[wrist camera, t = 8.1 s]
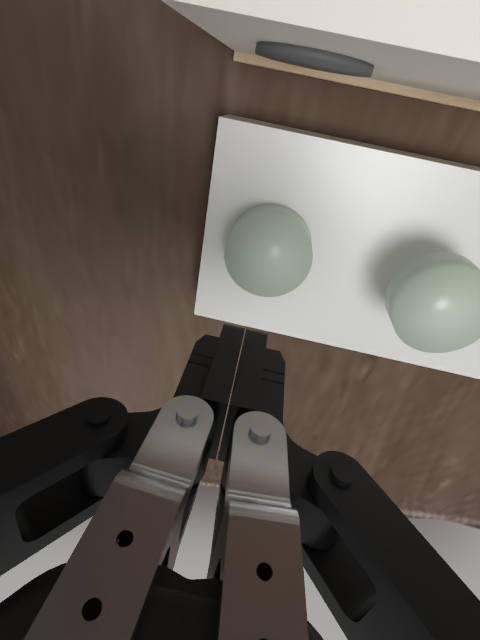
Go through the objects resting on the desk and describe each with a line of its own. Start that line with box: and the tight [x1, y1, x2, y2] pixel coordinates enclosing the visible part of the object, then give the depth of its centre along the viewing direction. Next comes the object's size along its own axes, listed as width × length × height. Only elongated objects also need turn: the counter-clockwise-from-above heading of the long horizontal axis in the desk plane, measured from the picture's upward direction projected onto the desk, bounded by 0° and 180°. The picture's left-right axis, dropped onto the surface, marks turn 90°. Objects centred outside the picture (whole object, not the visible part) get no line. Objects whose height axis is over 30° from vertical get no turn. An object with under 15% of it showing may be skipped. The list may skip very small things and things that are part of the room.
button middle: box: [385, 252, 480, 353], centre depth 19 cm, size 5×5×2 cm
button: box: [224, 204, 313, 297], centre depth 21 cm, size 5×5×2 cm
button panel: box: [194, 114, 480, 379], centre depth 23 cm, size 26×12×3 cm, turn 80°
